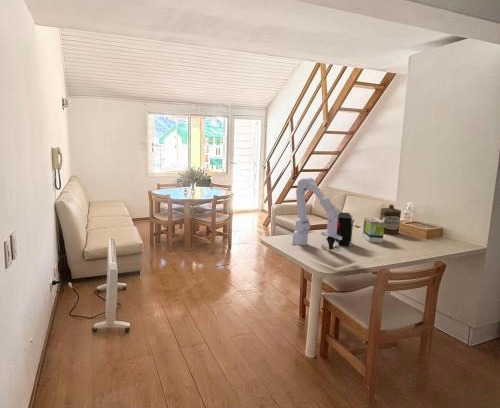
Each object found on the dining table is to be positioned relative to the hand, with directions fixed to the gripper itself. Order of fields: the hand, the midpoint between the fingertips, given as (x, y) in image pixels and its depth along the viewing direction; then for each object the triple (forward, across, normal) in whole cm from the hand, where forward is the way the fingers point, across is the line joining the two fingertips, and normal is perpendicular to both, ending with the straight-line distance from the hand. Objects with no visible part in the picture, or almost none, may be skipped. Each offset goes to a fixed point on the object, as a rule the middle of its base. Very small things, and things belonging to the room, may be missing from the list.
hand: (330, 248), depth 214 cm
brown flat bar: (+1, -4, +4) cm, 6 cm away
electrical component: (+3, -8, +22) cm, 24 cm away
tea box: (+3, -5, +51) cm, 52 cm away
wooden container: (+3, -12, +81) cm, 82 cm away
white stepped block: (+1, -1, 0) cm, 2 cm away
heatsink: (+2, -3, +4) cm, 6 cm away
